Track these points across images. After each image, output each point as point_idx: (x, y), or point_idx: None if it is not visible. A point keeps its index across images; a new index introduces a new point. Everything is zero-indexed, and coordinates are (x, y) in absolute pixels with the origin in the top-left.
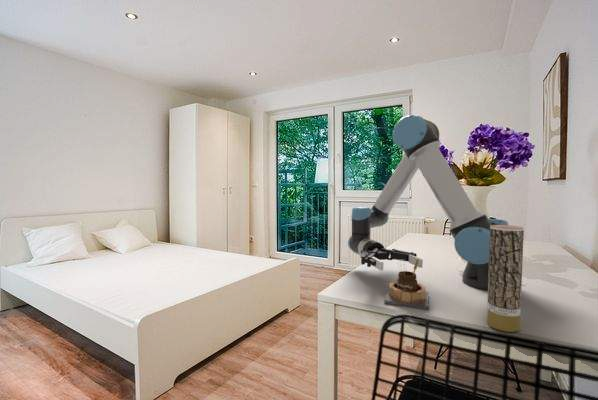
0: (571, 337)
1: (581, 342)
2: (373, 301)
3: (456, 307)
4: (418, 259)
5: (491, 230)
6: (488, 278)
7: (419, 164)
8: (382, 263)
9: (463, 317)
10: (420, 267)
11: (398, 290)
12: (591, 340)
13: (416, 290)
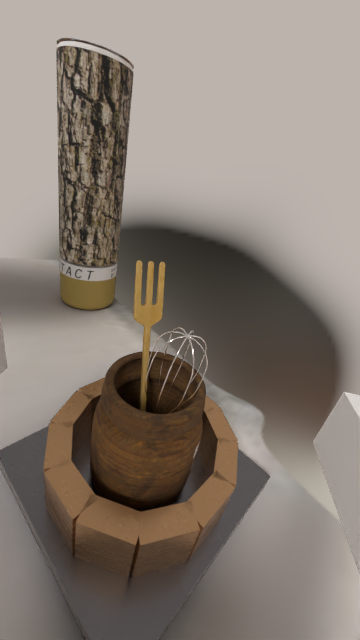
0: (42, 266)
1: (51, 263)
2: (309, 534)
3: (54, 360)
4: (142, 263)
5: (126, 72)
6: (108, 214)
7: None
8: (345, 404)
9: (108, 335)
10: (6, 365)
11: (223, 418)
12: (33, 259)
13: (130, 403)
